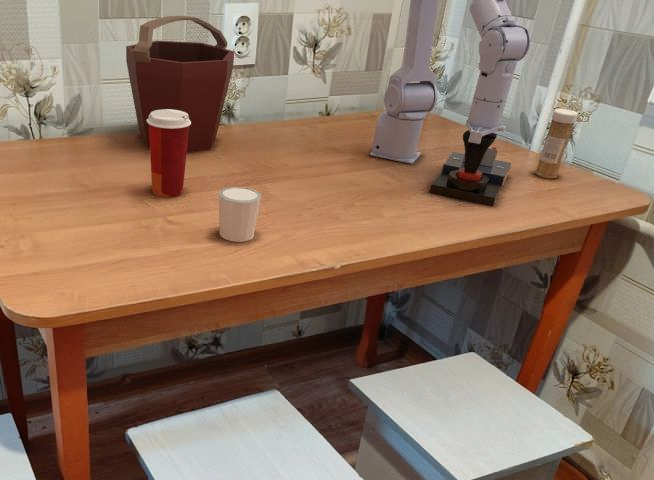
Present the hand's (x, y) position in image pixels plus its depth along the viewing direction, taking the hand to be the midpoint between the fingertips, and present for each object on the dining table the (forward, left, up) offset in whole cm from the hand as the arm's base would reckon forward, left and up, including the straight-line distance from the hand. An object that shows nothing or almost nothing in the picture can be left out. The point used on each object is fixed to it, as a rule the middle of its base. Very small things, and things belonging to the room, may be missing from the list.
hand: (470, 171), depth 135 cm
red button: (0, 0, -2) cm, 2 cm away
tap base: (0, +11, -4) cm, 12 cm away
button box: (0, 0, -4) cm, 4 cm away
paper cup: (-48, -33, -5) cm, 58 cm away
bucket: (-62, -5, -5) cm, 62 cm away
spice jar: (+13, +22, -5) cm, 26 cm away
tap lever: (0, +11, -1) cm, 11 cm away
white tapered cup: (-29, -43, -5) cm, 52 cm away
